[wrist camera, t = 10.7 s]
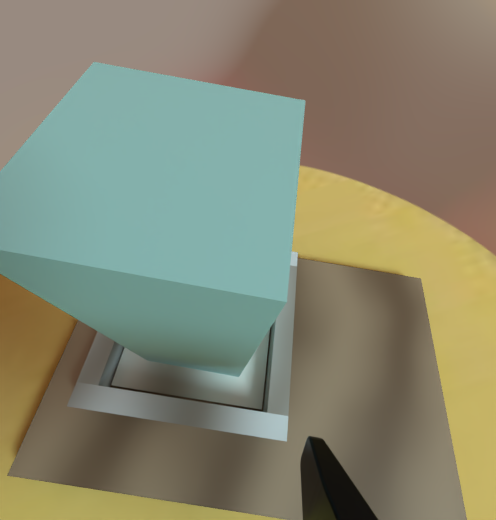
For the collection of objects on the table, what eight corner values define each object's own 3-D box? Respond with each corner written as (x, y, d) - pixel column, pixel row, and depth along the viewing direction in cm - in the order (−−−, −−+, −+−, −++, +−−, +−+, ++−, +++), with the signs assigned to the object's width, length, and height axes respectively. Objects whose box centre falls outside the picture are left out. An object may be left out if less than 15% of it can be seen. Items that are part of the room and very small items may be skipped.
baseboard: (21, 470, 13) (-20, 484, 10) (124, 236, 19) (112, 214, 17) (455, 538, 13) (503, 566, 11) (411, 284, 19) (435, 268, 17)
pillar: (238, 377, 14) (286, 301, 4) (147, 360, 14) (-59, 238, 4) (252, 291, 17) (305, 100, 6) (174, 277, 17) (94, 62, 6)
